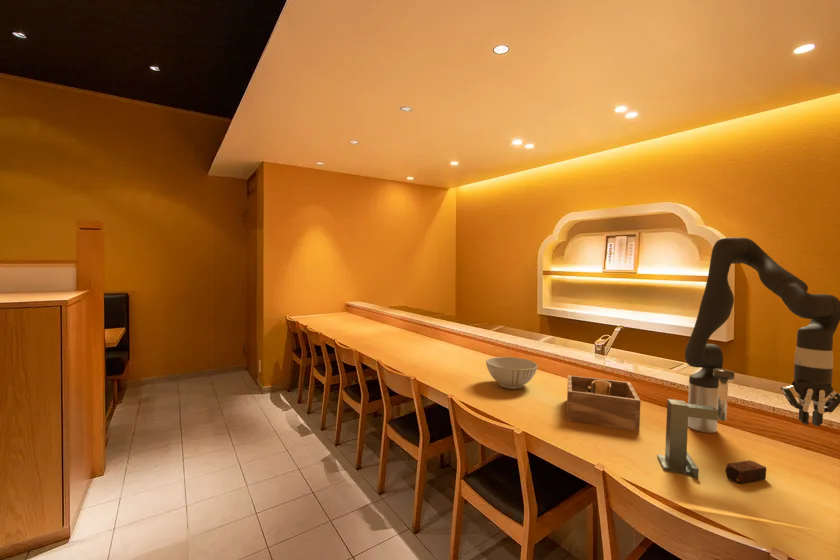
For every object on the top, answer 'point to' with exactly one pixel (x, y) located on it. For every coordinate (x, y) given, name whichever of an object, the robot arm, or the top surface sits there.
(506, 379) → the decorative bowl
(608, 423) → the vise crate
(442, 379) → the top surface
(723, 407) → the ram
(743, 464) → the brick
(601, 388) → the armchair
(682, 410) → the press frame
